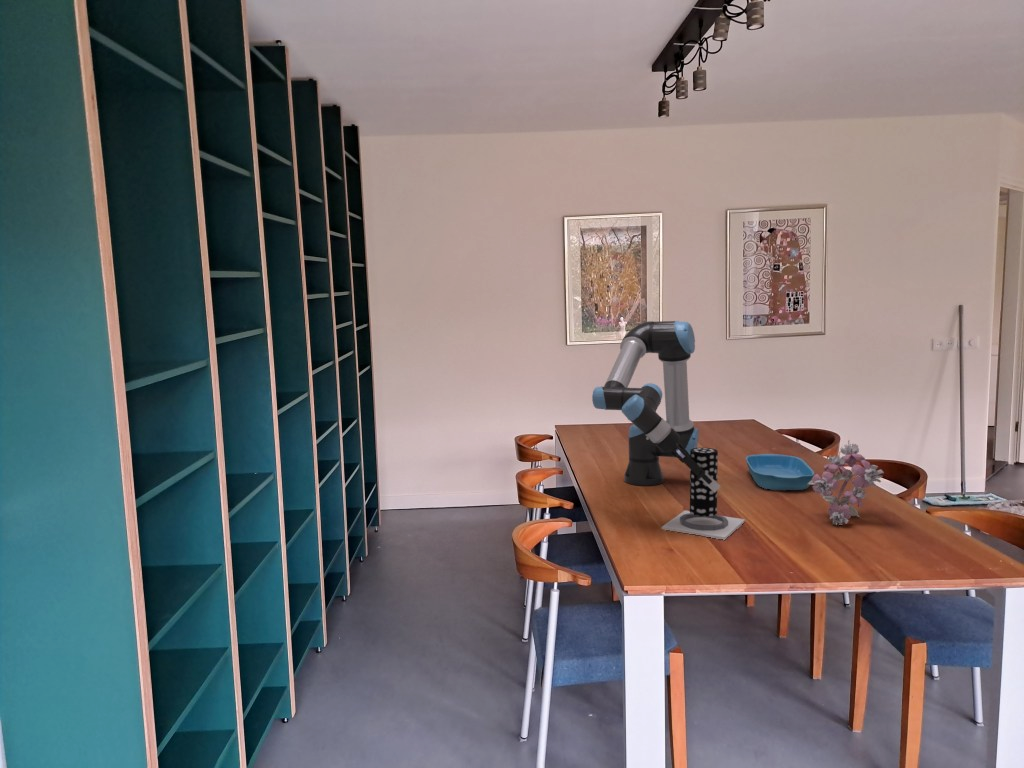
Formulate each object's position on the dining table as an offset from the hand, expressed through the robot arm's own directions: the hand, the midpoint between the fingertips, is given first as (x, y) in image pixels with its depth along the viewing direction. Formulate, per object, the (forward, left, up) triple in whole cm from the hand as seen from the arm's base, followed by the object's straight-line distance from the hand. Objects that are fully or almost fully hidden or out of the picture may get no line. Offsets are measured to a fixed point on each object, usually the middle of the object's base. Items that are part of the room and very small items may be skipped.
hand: (714, 485), depth 228 cm
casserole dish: (-66, +3, -14) cm, 67 cm away
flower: (-26, +33, -13) cm, 44 cm away
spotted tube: (+2, -3, -9) cm, 10 cm away
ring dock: (+1, -3, -13) cm, 14 cm away
